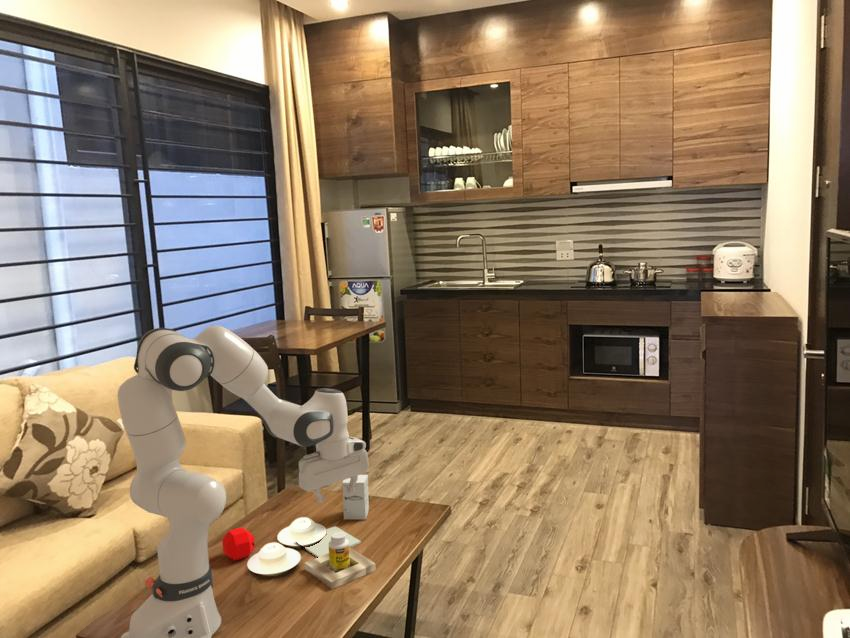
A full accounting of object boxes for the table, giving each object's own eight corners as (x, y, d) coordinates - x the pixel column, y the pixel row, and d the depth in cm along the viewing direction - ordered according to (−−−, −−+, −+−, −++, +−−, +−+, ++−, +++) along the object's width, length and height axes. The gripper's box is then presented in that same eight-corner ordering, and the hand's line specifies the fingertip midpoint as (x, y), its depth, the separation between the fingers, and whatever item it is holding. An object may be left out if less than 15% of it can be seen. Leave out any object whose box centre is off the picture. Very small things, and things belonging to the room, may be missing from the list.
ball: (257, 557, 196) (255, 532, 195) (230, 566, 192) (228, 540, 191) (248, 546, 203) (246, 522, 202) (221, 554, 199) (219, 530, 198)
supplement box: (343, 520, 219) (341, 482, 217) (347, 510, 226) (345, 473, 224) (366, 520, 218) (364, 482, 216) (369, 510, 225) (368, 473, 223)
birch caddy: (332, 589, 178) (331, 582, 178) (304, 569, 189) (304, 562, 188) (375, 570, 187) (375, 563, 186) (347, 552, 197) (347, 545, 197)
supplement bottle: (335, 577, 184) (333, 541, 182) (326, 569, 188) (324, 534, 187) (354, 570, 187) (352, 535, 185) (344, 562, 191) (342, 528, 190)
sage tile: (320, 559, 194) (319, 557, 194) (295, 542, 205) (295, 540, 204) (360, 543, 203) (360, 541, 203) (335, 527, 213) (335, 526, 213)
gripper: (304, 460, 173) (308, 512, 176) (370, 441, 186) (373, 489, 188) (292, 454, 178) (296, 504, 180) (357, 436, 191) (360, 483, 193)
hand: (336, 496), depth 184 cm, fingers open, 8 cm apart
